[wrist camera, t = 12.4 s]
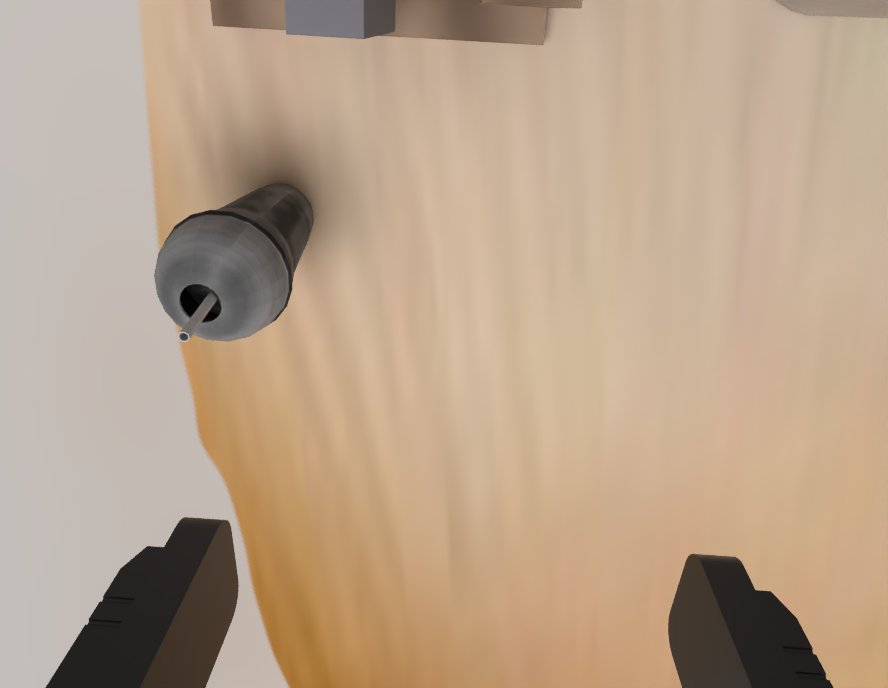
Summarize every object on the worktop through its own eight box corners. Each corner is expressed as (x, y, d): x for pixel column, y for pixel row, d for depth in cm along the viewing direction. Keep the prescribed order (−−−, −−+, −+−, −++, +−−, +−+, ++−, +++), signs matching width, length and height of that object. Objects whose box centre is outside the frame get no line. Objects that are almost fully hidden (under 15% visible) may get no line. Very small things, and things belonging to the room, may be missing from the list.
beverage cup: (211, 187, 45) (41, 304, 27) (301, 146, 44) (183, 242, 26) (264, 277, 48) (141, 434, 30) (350, 241, 47) (274, 386, 29)
